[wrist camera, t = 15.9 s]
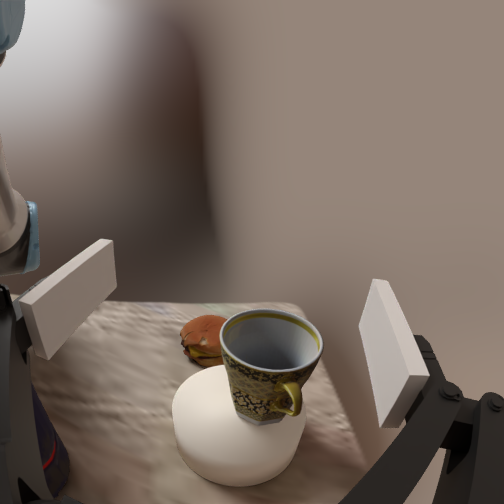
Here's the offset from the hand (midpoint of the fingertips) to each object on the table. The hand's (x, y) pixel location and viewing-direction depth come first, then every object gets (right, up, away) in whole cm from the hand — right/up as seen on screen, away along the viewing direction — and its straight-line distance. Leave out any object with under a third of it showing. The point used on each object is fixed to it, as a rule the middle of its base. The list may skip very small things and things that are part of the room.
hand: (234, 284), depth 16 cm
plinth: (-1, -21, +20) cm, 29 cm away
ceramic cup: (+2, -16, +17) cm, 24 cm away
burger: (-6, -15, +36) cm, 39 cm away
